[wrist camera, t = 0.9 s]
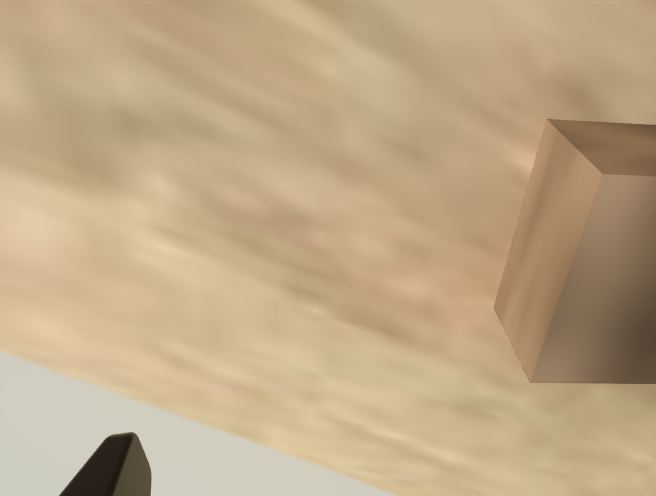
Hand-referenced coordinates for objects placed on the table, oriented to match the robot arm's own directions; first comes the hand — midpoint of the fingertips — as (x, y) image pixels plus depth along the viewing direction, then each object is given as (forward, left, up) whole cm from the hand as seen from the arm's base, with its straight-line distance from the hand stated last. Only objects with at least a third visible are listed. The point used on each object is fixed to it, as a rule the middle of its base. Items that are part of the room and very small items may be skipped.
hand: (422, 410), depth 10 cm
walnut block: (-11, +4, -13) cm, 17 cm away
